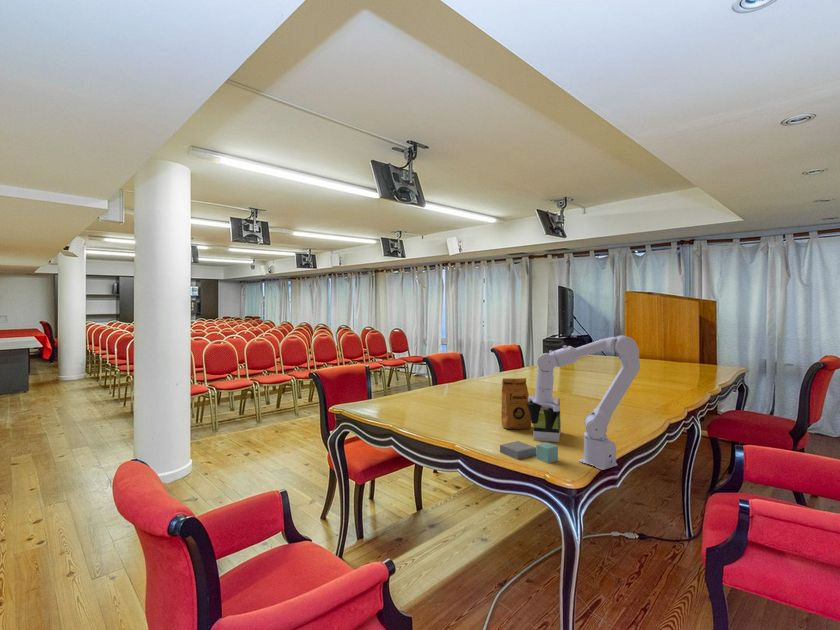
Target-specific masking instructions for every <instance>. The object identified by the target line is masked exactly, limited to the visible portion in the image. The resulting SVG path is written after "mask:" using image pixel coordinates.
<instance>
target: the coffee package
mask: <svg viewBox="0 0 840 630" xmlns="http://www.w3.org/2000/svg"><path fill="white" fill-rule="evenodd" d="M501 385H502V387H501V397H500V398H501V399H500V400H501V419H500V420H501V426H502V427H503V428H505V429H509V430H510V429H512V430H530V429H531V427H532V422H531V416H530V412H529V409H528V407H527V403H529V401H528V396H530V395H529V391H528V385H527V377H520V378H514V377H513V378H505V377H504V378H502V381H501Z"/></svg>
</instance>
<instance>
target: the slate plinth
mask: <svg viewBox="0 0 840 630" xmlns="http://www.w3.org/2000/svg"><path fill="white" fill-rule="evenodd" d="M499 453H501V454H504V455H506V456H508V457H511V458H514V459H516V460H520V459H525V458H529V457H532V456H536V446H533V445H530V444H527V443H525V442H522V441H519V440H517V441H516V440H515V441H512V442H507V443H503V444H500V445H499Z"/></svg>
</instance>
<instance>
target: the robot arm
mask: <svg viewBox="0 0 840 630" xmlns="http://www.w3.org/2000/svg"><path fill="white" fill-rule="evenodd" d="M603 351H604V352H607V353H608V352H609V353H614V352H615V353H616V355H617V356H618V359H619V362H620V364H621V367H620V369H619V371H618V372H617V374H616V376H615V377H614V379H613V380H612V382H611V384H610V385H609V387H608V389H607V390H606V392H605V394H604V395H603V397H602V399H601V400H600V402H599V403H598V404H597V406H596V407H595V408H594V409H593V410H592V412H591V413H590V414H587V415H586V417H585V418H584V426H585V432H584V433H583V458H580V459H578V462H579V461H580V462H579V463H582V462H583V464H584V463H587V464H590V465H591V464H593V465H594V466H595V467H596V469H598V470H601V471H602V470H603V471H604V470H607V469H611V468H613V467H617V466H618V463H617V446H616V444H615V442H614V441H612V440H610V439H609V438H608V435H607V432H608V425H609V423H610V421H611V418H612V415H613V413H614V412H615V410H616V408H617V407H618V406H619V403H620V402H621V400H622V398H624V396H625V394H626V392H627V390H628V389H629V388H630V386H631V384H632V383H633V381H634V379H635V378H636V376H637V375H638V373H639V372H640V369H641V362H640V361H641V360H640V349H639V346H638V344H637V342H636V341H635V340H634V338H632V337H629V336H626V335H624V334H620V335H616V336H610V337H605V338H601V339H598V340H596V341H593V342H590V343H587V344H584V345H581V346H578V347H573V346H571V345H568V346H567V344H566V345H562V348H559V349H555V350H551V349H550V350H549V351H548V352H545V353H542V354H540V355H539V357H538V358H537V360H536V361H537V370H536V371H537V373H536V379H535V393H534V395H529V396H528V401H529V403H527V407H528V409H529V412H530V416H531V425H533V424H537V423H538V419H539V413H540V409H541V407H542V406H544V407H546V408H548V409H544V410H543V411H544V415H545V428H546V430H552V428H553V425H554V422H555V420H556V418H557V417H558V415H559V414H560V415H561V405H560V406H559V405H557V404H556V403H554V402H553V401H552V398H553V394H554V393H553V391H554V379H555V377H554V376H555V375H554V368H555V367H556V368H560V367H563V366H567V365H570V364H573V363H577V361H578V359H579V357H583V356H588V355H591V354H595V353H598V352H603ZM587 464H586V465H587ZM590 465H589V466H590ZM595 467H594V468H595Z"/></svg>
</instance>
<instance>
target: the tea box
mask: <svg viewBox="0 0 840 630" xmlns="http://www.w3.org/2000/svg"><path fill="white" fill-rule="evenodd" d="M552 401H553V402H554V403H556V404H557V405H559V406H560V407H561V399H560V397H552ZM544 409H548V408H546V407H544V406H542V407H541V409H540V413H539V419H538V423H537V424H532V431H533V433H532V434H533V435H532V437H533V441H540V442H541V441H542V442H553V443H559V442H560V438H561V432H562V431H561V430H562V429H561V425H562V424H561V422H562V421H561V413H560V414H559V415H558V417H557V418H556V420H555V422H554V425H553V428H552V430H546V428H545V415H544V411H543V410H544Z"/></svg>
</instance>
